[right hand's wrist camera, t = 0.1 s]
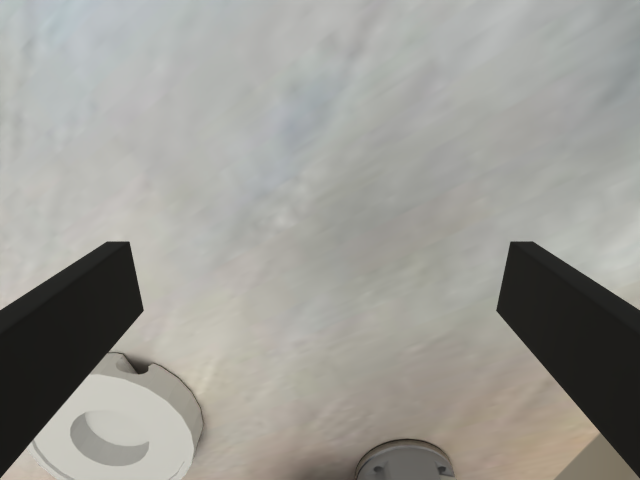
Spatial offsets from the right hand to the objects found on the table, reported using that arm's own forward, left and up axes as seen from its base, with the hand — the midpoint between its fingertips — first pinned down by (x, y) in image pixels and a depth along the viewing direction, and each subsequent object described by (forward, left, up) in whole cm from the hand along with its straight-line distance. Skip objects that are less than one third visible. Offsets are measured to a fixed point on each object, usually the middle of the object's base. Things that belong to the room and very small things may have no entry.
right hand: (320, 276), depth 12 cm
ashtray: (-37, +29, -28) cm, 55 cm away
